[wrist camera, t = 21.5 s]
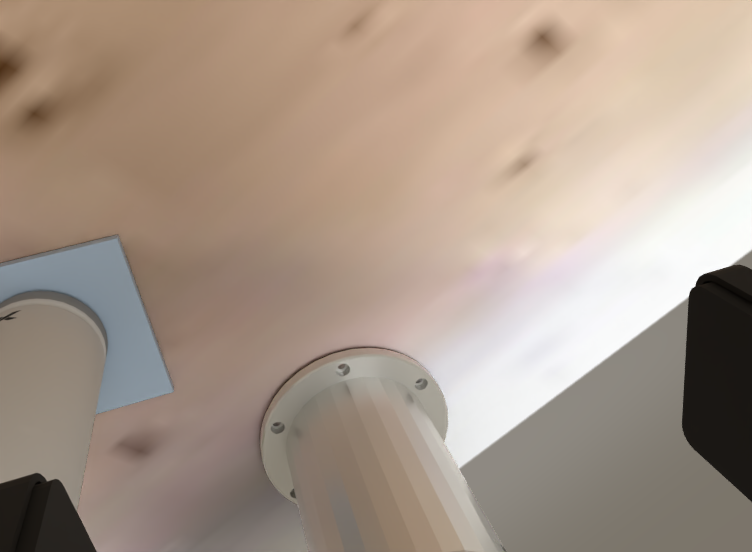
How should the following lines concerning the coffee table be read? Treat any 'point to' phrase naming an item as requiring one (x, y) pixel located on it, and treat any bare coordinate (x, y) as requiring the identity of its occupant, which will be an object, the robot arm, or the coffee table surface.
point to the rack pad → (100, 313)
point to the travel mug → (49, 386)
